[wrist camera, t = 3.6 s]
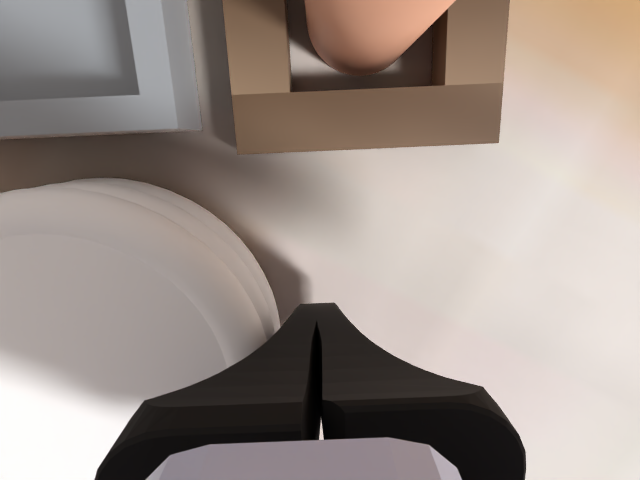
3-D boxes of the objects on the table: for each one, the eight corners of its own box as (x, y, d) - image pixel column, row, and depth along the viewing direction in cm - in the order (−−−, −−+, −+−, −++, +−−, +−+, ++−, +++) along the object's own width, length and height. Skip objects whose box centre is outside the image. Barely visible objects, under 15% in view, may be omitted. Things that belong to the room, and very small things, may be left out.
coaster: (113, 488, 14) (51, 595, 11) (-85, 281, 12) (-241, 335, 9) (336, 366, 13) (343, 445, 10) (160, 110, 11) (89, 97, 8)
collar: (479, 142, 11) (498, 142, 10) (245, 153, 11) (237, 154, 10) (498, -146, 9) (524, -187, 8) (219, -134, 9) (205, -172, 8)
